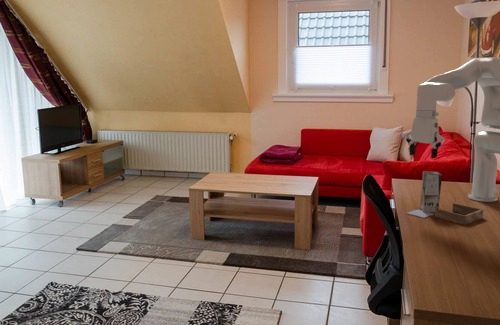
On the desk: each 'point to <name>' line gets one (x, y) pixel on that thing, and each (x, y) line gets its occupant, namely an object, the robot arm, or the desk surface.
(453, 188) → the desk surface
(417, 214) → the mat grey
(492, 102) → the robot arm
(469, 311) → the desk surface
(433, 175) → the coffee box
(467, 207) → the bay walnut
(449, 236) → the desk surface
